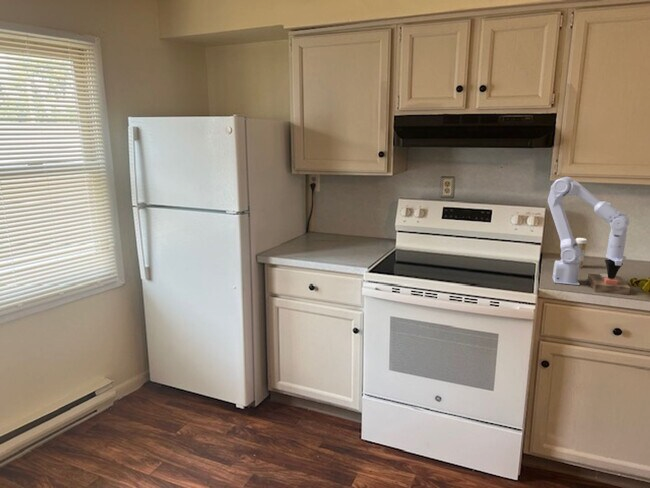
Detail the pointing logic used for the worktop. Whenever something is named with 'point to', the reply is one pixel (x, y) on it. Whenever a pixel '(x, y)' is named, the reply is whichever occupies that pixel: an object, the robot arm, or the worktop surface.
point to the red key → (610, 281)
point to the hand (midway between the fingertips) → (611, 278)
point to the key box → (608, 285)
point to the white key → (603, 275)
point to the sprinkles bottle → (582, 244)
